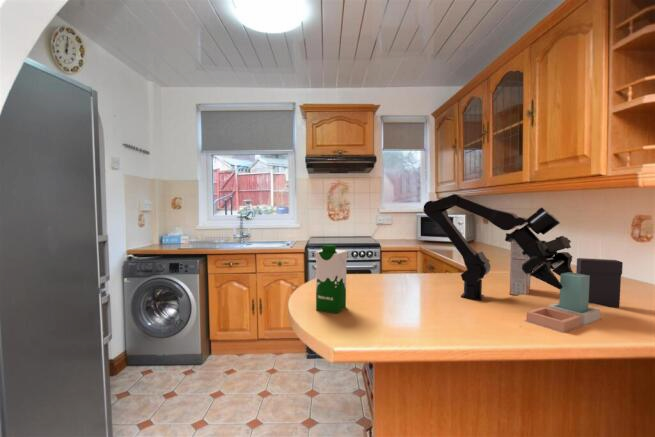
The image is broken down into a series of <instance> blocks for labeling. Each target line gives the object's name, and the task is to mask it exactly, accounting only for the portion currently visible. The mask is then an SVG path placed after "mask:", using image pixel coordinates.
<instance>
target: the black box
mask: <svg viewBox="0 0 655 437" xmlns="http://www.w3.org/2000/svg"><path fill="white" fill-rule="evenodd" d="M623 264H624V263H623V262H622V261H620V260H617V259H604V258H602V259H600V258H587V257H586V258H585V257H584V258H583V257H578V258H576V270H575V271H576V272H575V273H578V274H584V275H590V278H589V300H588V304H594V305H598V306H604V307H607V308H615V309H618V308H620V303H621V285H622V284H621V281H622V275H623Z"/></svg>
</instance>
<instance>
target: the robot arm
mask: <svg viewBox="0 0 655 437" xmlns="http://www.w3.org/2000/svg"><path fill="white" fill-rule="evenodd" d="M453 207H458V208H460V209H463V210H465V211H467V212H469V213H471V214H474V215H476V216H479V217H481V218H484V219H485V220H487V221H489V223H491V224H492V225H494V226H496V227H497V228H498V229H500V230H502V231H510V230H513V231H512V232H510V233H507V232H506V233H505V238H504V241H505V242H507V243H511V241H513V240H514V241H515V242H516V243H517V244H518V245H519V247H520V248H521V249H522V250H523V252H522V254H523V255H527V256H528V257H529V258H530V259H529V260H528V261H526V262H525V263H524V264H523V265H522V270H523V271H524V273H525V274H530V277H534V278H536V279H537V280H540V281H542V282H543V283H546V284H548V285H550V286H552V287H554V288H556V289H557V290H560V289H561V288H563V286H562V285H561V283H560V280H559V279H558V278H557V277H556V275H557V276H560V274H562V273H567V272H571V273H574V272H573V269H572V267H571V264H572V262H573V255H572V254H571V253H570V252H569V251H561V250H565V249H567V250H569V249H570V248H572V246H571V243H572V240H570V239H569V238H568V237H566V236H564V235H561V236H559V237H558V236H557V237H555V239H553V240H552V239H551V240H548V241H547V240H541V239H539V237H538V236H537V235H539V234H541V235H546V234H547V233H548V232H550V231H551V230H553V229H554V228H555V227H557V226H558V225H560V224H561V222H560V221H559V219H558V218H557V217H556V216H554V215H553V214H551V213H550V212H549V211H548V210H546V209H545V208H544V207H540V208H538V209H537V211H535V212H534V213H533V214H532V215H530V216H529V217H527V218H526V217H521V216H518V215H517V214H516V213H515V212H511V211H507V210H506V211H505V210H501V209H496V208H492V207H489V206H486V205H484V204H481V203H479V202H478V201H477V202H476V201H474V200H471V199H470V198H466V197H464V196H462V195H461V194H457V193H456V194H455V193H452V194H450V195H449V196H446V197H442V198H439V199H437V200H428V201H427V202H425V203H424V205H423V209H422V210H423V213H424V214H425V215H426V216H427V217H428V218H429V219H430V220H432V221H433V222H434V223H435V224H436V225H438V226H439V227H440V228H441V230H442V232H444V234H445V235H446V237H447V238H448V239H449V241H450V242H451V244H452V245H453V246H454V247H455V248H456V250H457V251H458V252H459V254H460V255H461V257H462V260H463V263H464V266H465V267H466V270H465V271H464V272H463V273H461V274H460V276H461V280H462V281H463V293H462V294H461V295H460V297H461V298H465V299H470V300H477V301H482V299H483V298H484V296H485V295H484V294H482V292H483V291H482V289H483V279H484V277H485V276H486V275H487V274H489V273H490V272H491V264H490V262H491V260H489V259H488V258H487V257H486V255H485V253H484V252H483V251H480V252H478V251H476V250H474V248H473V247H472V246H471V244H470V243H469V242H468V240H466V238H465V237H464V235H462V233H461V232H460V231H459V229H458V228H457V226H456V225H455V224H454V223H453V221H452V220H451V219H450V217H449V213H448V212H449V211H448V210H449V209H452V208H453ZM521 226H522V227H521ZM518 227H521V228H518ZM558 251H559V252H558ZM555 274H556V275H555Z"/></svg>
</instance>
